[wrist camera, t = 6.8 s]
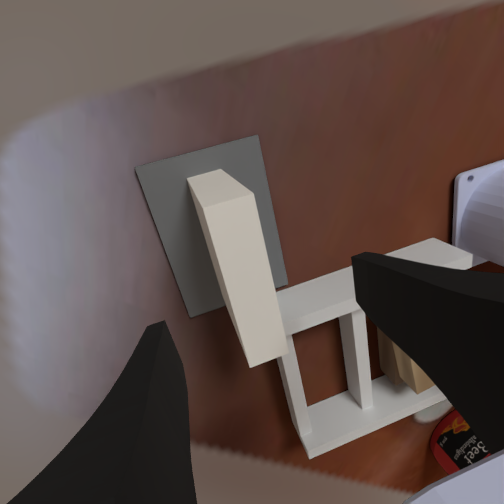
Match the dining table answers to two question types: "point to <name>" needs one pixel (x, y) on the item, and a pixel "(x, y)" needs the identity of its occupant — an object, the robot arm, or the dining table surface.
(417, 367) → the offcut top
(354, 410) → the rack
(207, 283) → the mat
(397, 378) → the offcut low
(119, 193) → the dining table surface
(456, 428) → the canned food
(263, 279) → the cream rectangular block
